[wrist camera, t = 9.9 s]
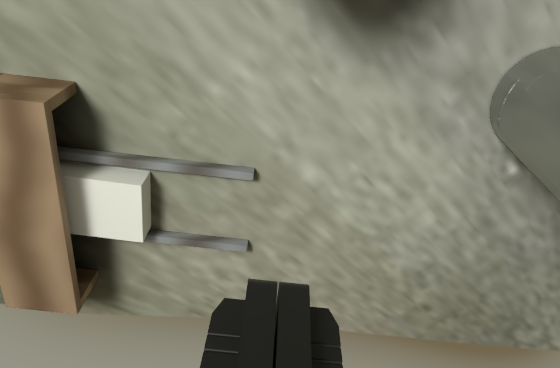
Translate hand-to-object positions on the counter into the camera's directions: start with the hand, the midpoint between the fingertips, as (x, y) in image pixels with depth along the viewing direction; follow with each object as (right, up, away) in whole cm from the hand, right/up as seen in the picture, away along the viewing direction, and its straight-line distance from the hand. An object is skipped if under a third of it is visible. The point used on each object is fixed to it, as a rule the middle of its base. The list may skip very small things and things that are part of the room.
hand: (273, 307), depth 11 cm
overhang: (-14, +2, +33) cm, 36 cm away
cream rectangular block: (-19, +3, +33) cm, 38 cm away
